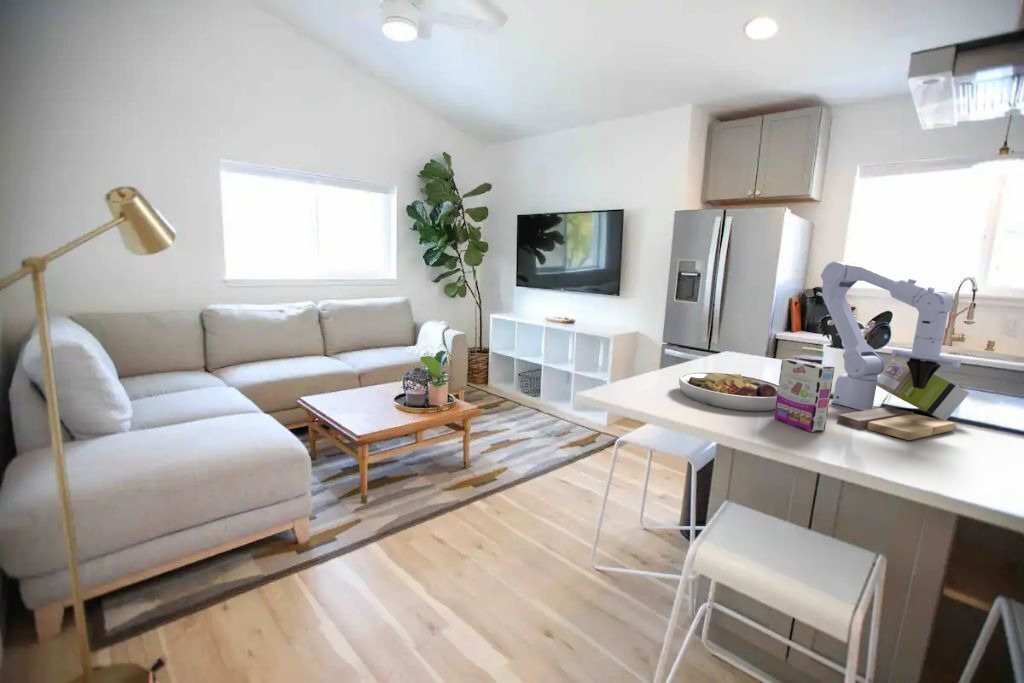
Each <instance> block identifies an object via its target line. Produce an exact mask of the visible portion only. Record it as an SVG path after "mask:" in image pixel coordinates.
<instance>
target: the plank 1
mask: <svg viewBox="0 0 1024 683" xmlns="http://www.w3.org/2000/svg"><path fill="white" fill-rule="evenodd" d="M867 430H868V431H872V432H875V433H881V434H884V435H888V436H893V437H896V438H899V439H902V440H907V441H911V440H916V439H920V438H924V437H929V436H933V435H932V433H933V427H929V426H925V425H920V424H916V423H912V422H908V421H903V420H899V419H895V418H888V419H882V420H877V421H871V422H868V428H867Z"/></svg>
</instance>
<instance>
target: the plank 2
mask: <svg viewBox="0 0 1024 683" xmlns="http://www.w3.org/2000/svg"><path fill="white" fill-rule="evenodd" d="M893 418H895V419H899V420H903V421H908V422H912V423H916V424H920V425H925V426H929V427H933V433H932V435H931V436H935V435H938V434H943V433H947V432H951V431H955V430H956V429H955V427H956V422H954V421H949V420H946V421H945V420H941V419H939V418H937V417H930V416H926V415H921V414H918V413H913V414H909V415H904V416H898V417H893Z"/></svg>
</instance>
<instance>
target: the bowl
mask: <svg viewBox="0 0 1024 683" xmlns="http://www.w3.org/2000/svg"><path fill="white" fill-rule="evenodd" d="M678 382H679V383H678V385H679V388H680V389H681V391H682V393H683V394H684V395H686V396H687V397H689V398H690V399H692V400H694V401H696V402H699V403H702V404H706V405H708V406H713V407H717V408H721V409H728V410H733V411H736V410H737V411H743V412H745V411H746V412H765V411H771V410H775V407H776V400H777V393H778V386H779V383H778V384H777V383H776V382H772V381H769V380H765V379H762V378H761V379H760V378H756V377H752V376H748V375H742V374H741V373H726V372H714V371H713V372H712V371H695V372H687V373H683V374H681V375H680V376H679V379H678Z"/></svg>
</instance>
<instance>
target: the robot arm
mask: <svg viewBox="0 0 1024 683" xmlns="http://www.w3.org/2000/svg"><path fill="white" fill-rule="evenodd" d="M820 278H821V280H822V290H821V291H822V292H821V293H822V295H821V296H822V299H823V301H824V304H825V306H826V308H827V311H828V313H829V316H830V317H831V319H832V322H833V323H834V324H833V325H834V326H835V329H836V331H837V333H838V335H839V337H840V339H841V342H842V344H843V346H844V348H845V350H844V352H843V353H842V358H843V361H844V364H843V368H844V370H845V372H846V373H841V374H840V375H839V376H837V378H836V381H835V383H834V389H833V390H834V391H833V396H832V400H831V401H830V402H831V403H833V404H836V405H839V406H840V405H841V406H842V407H843V406H844V407H847V408H851V409H854V410H859V411H864V410H870V409H876V408H880V407H879V406H876V405H874V403H875V402H874V401H875V398H876V390H877V379H878V377H879V375H880V374H881V373H882V372H883V370H884V369H885V368H886V365H885V364H886V363H885V361H884V360H883V358H882V357H881V356H880V355H878V354H877V352H876V350H875V348H873V347H872V346H870V345H869V344H868V343H867V341H866V339H865V337H864V335H863V332H862V330H861V328H860V326H859V324H858V321H857V320H856V317H855V315H854V313H853V311H852V308H851V306H850V304H849V302H848V300H847V298H846V295H847V293H848V291H849V290H850V289H851V288H852V287H853V286H854V285H855V284H856V283H857V282H858V281H859V282H861V281H862V282H866V283H868V284H870V285H873V286H876V287H879V288H881V289H884V290H887V291H889V294H890V297H891V298H892V299H894V300H898V301H899V302H901V303H903V304H905V305H908V306H911V307H913V308H916V310H917V311H918V312H917V313H918V316H917V321H916V326H915V333H914V337H913V344H912V349H911V350H903V349H899V348H898V349H897V348H895V349H892V350H891V355H890V356H891V357H892V358H902V359H908V360H907V361H906V362H907V365H908V367H909V369H910V372H911V375H912V380H913V387H914V388H919V389H925V387H926V385H927V383H928V381H929V380H930V378H931V377H932V375H933V374H935V373H936V372H937V371H938V370H939V369H940V368H941V367H942V366H941V365H943V366H948V367H952V368H960V367H961V364H962V359H959V358H953V357H948V356H945V355H944V356H943V355H941V352H942V346H943V340H944V336H945V331H946V330H945V329H946V325H947V319H948V315H949V312H951V311H952V310H953V308H954V306H955V300H954V298H953V296H951V295H950V294H948V293H947V292H945V291H937V292H936V291H935V288H934V287H932V286H929V287H927V286H925V285H922V284H919V283H917V280H916V279H913V278H908V279H907V278H903V279H899V280H897V279H894V278H892V277H891V276H888V275H886V274H883V273H881V272H879V271H878V270H875V269H873V268H870V267H869V266H866V265H863V264H858V263H857V262H842V261H841V262H840V261H831V262H829V263H827V265H826V266H825V267H824V268H823V270H822V272H821V273H820Z"/></svg>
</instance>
